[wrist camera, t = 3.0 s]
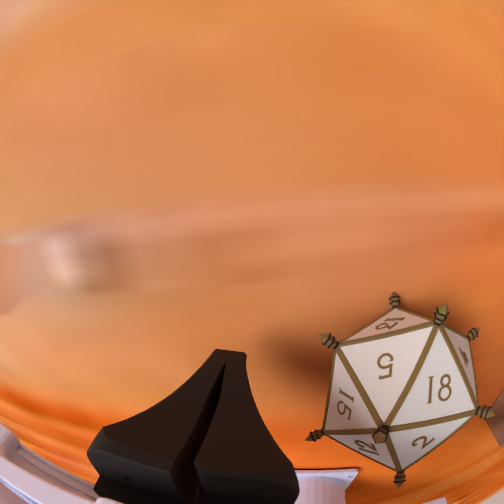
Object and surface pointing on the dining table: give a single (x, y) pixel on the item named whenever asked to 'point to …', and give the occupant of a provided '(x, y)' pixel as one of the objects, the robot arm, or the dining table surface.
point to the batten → (498, 420)
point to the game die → (400, 387)
